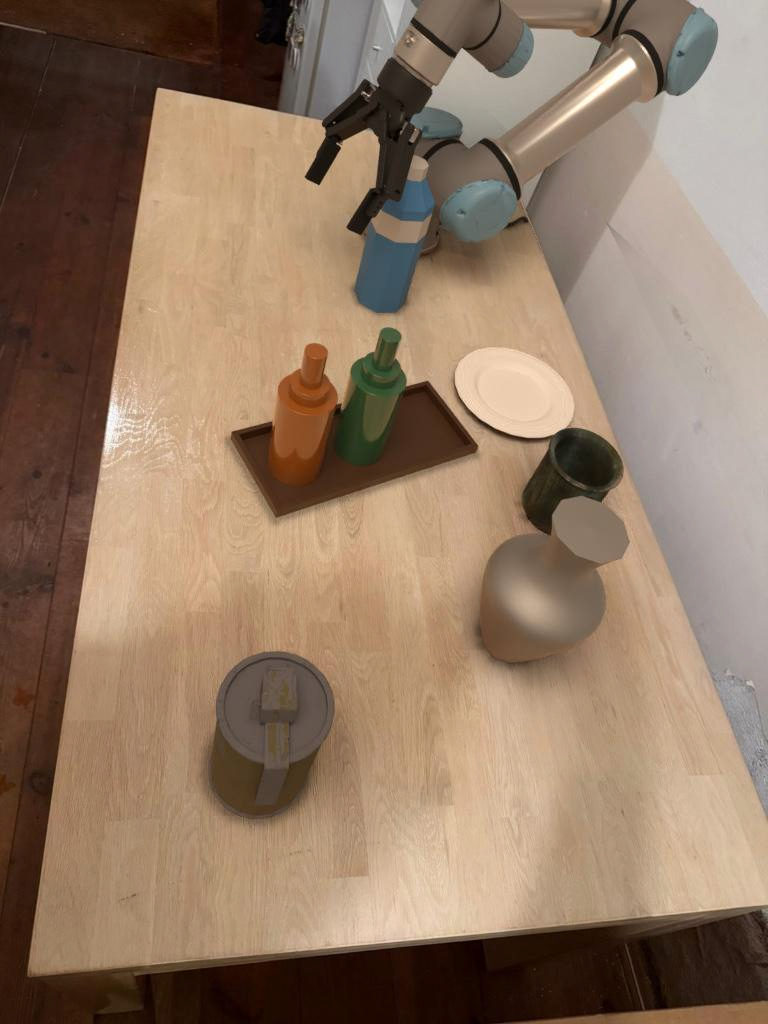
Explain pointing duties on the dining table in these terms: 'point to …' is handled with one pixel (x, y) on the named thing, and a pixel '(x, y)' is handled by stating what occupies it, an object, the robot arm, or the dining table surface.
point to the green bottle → (370, 402)
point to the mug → (571, 474)
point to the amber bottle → (302, 420)
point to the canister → (268, 732)
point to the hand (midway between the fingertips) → (332, 205)
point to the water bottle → (395, 244)
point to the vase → (550, 583)
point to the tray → (410, 448)
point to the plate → (514, 392)
